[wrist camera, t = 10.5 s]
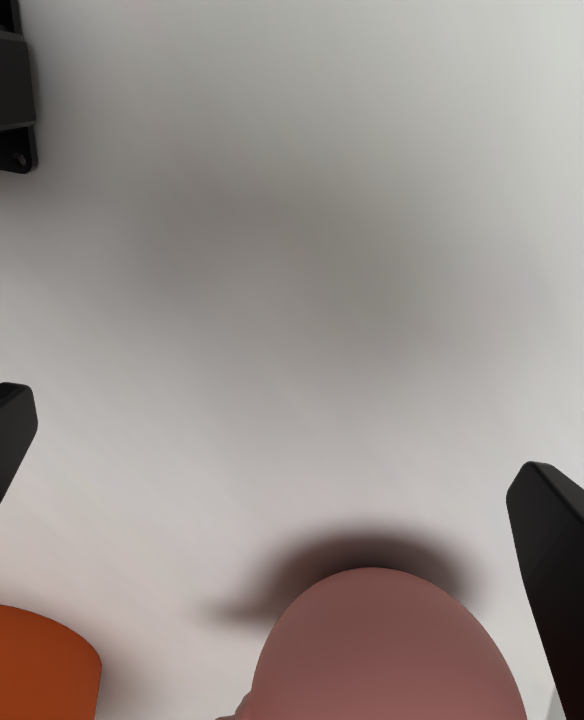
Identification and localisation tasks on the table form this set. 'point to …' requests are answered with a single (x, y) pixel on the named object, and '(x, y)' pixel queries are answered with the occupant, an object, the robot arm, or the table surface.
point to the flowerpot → (45, 669)
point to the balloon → (379, 656)
